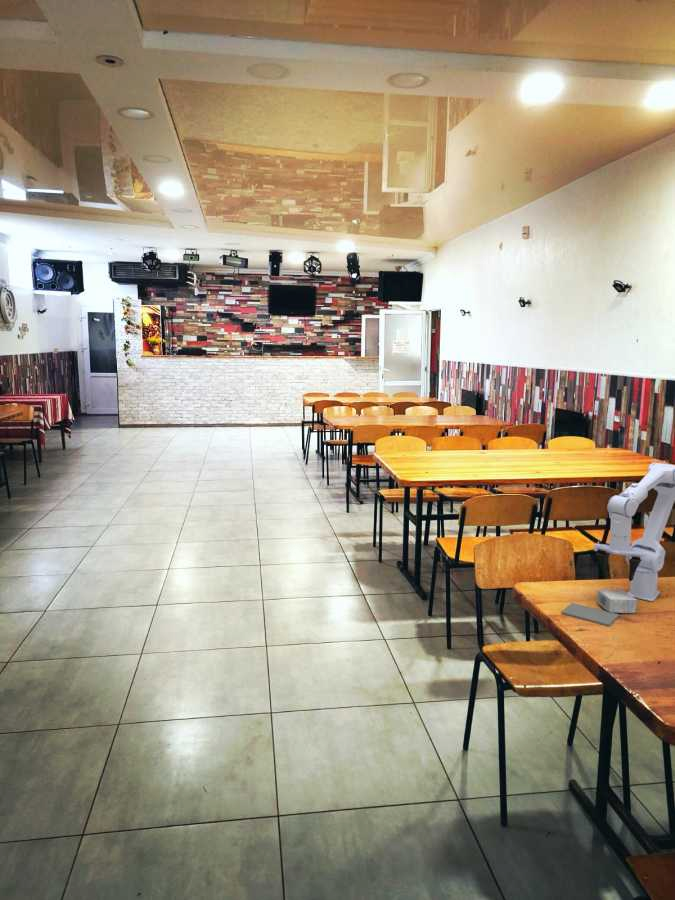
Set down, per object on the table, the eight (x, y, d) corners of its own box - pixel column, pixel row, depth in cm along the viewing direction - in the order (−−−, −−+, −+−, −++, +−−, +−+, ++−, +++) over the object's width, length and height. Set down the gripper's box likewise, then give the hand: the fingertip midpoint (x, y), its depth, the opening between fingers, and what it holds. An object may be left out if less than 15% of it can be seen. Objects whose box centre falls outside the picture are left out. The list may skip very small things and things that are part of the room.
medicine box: (608, 612, 180) (636, 613, 180) (610, 598, 179) (638, 599, 180) (596, 602, 188) (622, 603, 188) (597, 588, 187) (624, 590, 187)
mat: (571, 604, 188) (571, 602, 188) (618, 616, 179) (619, 614, 178) (561, 613, 181) (561, 611, 181) (609, 626, 172) (609, 624, 172)
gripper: (591, 533, 184) (589, 575, 186) (642, 542, 175) (639, 586, 177) (599, 528, 190) (596, 569, 192) (648, 536, 180) (645, 579, 182)
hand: (617, 577), depth 185 cm, fingers open, 7 cm apart
